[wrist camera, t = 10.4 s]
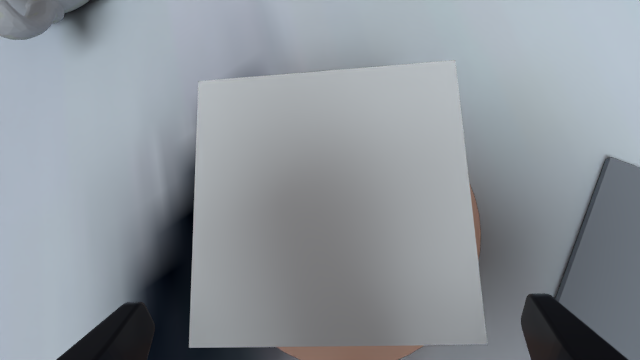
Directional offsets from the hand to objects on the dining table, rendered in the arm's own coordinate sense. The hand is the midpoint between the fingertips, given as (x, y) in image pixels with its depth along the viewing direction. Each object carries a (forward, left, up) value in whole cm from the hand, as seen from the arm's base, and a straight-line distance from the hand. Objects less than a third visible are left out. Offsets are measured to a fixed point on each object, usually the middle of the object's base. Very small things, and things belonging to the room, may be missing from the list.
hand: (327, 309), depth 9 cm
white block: (+1, +2, -10) cm, 10 cm away
